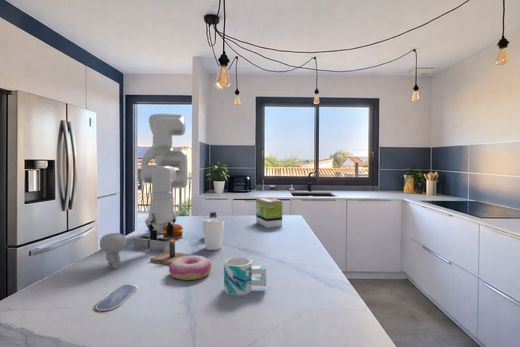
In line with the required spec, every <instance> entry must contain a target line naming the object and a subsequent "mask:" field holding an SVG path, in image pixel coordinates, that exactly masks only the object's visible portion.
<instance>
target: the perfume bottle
mask: <svg viewBox="0 0 520 347" xmlns="http://www.w3.org/2000/svg"><path fill="white" fill-rule="evenodd" d="M209 218H218V215H217V212H216V211H211V212H209Z"/></svg>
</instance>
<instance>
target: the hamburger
mask: <svg viewBox="0 0 520 347" xmlns="http://www.w3.org/2000/svg"><path fill="white" fill-rule="evenodd" d="M167 226H168V225H166V226H164V227H163V234H162V235H163V236H162V238H169V239H175V241H178V240H180V239H183V233H184V230H183V229H184V228H183V226H182V225H181V224H178V223H174V226H173V236H171V235H167Z"/></svg>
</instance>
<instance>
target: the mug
mask: <svg viewBox="0 0 520 347" xmlns="http://www.w3.org/2000/svg"><path fill="white" fill-rule="evenodd" d="M252 263H253V262H252V259H250V258H248V257H241V256H237V257H236V256H235V257H229V258H226V259H224V263H223V292H224V293H226V294H228V295H232V296H244V295H245V296H246V295H248V294H249V293H251V292H252V288H253V287H256V286H257V287H266V286H267V266H266V265H253V264H252ZM253 274H254V275H261V276H253Z"/></svg>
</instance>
